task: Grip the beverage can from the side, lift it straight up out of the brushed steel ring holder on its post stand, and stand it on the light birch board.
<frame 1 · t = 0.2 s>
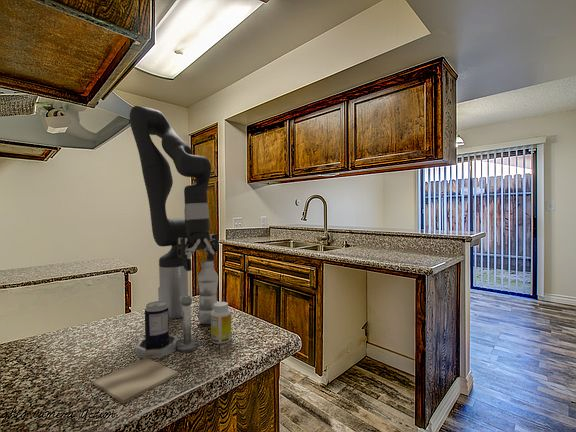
hand: (199, 268, 100), 18 cm above the counter, tool pointing down, fingers open, 8 cm apart
birch board: (136, 379, 67), on the counter
steel ring stand: (157, 349, 81), on the counter
beverage can: (157, 350, 81), resting in steel ring stand
plastic bottle: (208, 323, 99), on the counter
supplement bottle: (221, 341, 86), on the counter
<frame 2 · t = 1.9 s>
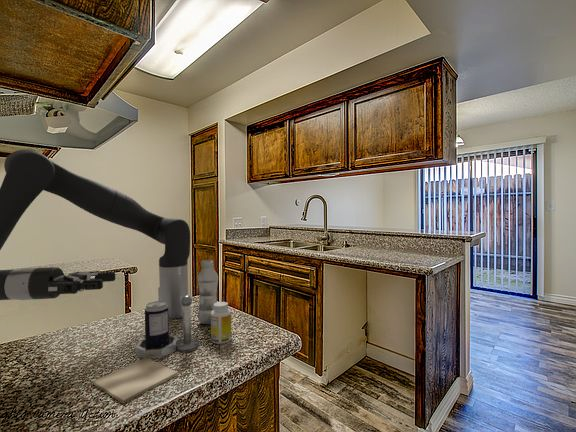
hand: (109, 280, 78), 19 cm above the counter, tool horizontal, fingers open, 8 cm apart
nothing on the counter moved.
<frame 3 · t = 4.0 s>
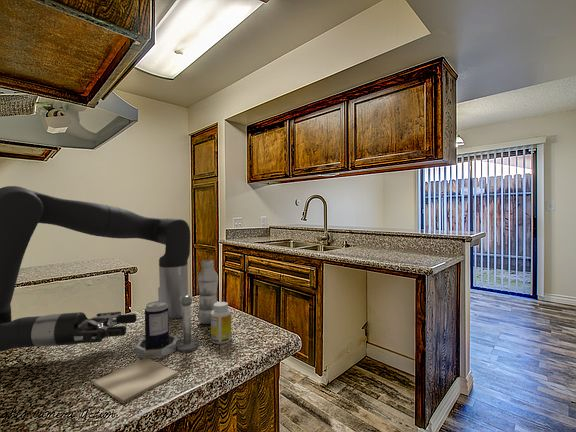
hand: (131, 323, 80), 7 cm above the counter, tool horizontal, fingers open, 8 cm apart
nothing on the counter moved.
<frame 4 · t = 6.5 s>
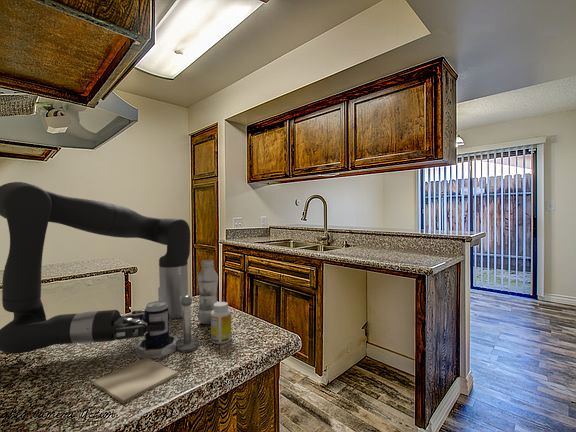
hand: (167, 321, 81), 7 cm above the counter, tool horizontal, fingers closed on beverage can, 5 cm apart
beverage can: (157, 350, 81), resting in steel ring stand, touching gripper
everything else where it was.
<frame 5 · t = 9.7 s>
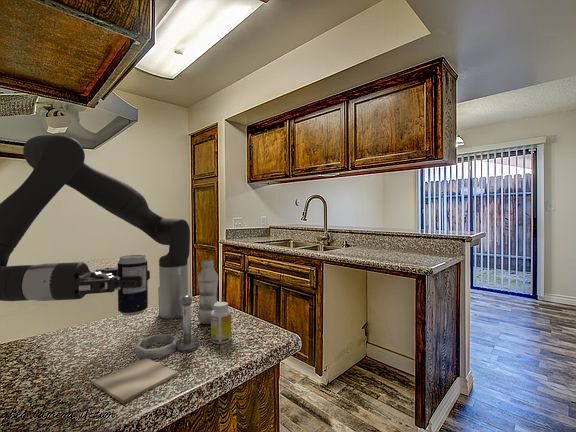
hand: (145, 278, 67), 22 cm above the counter, tool horizontal, fingers closed on beverage can, 5 cm apart
beverage can: (133, 313, 67), point 14 cm above the counter, touching gripper
everything else where it was.
when the fingers open (9 cm above the counter, at t = 13.1 s): beverage can stays where it is, resting on birch board.
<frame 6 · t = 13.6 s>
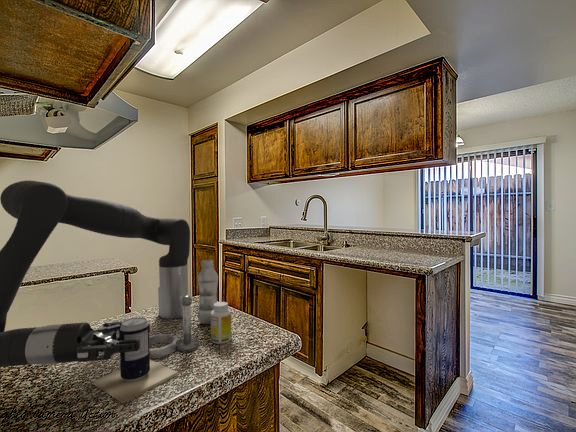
hand: (144, 336, 67), 9 cm above the counter, tool horizontal, fingers open, 8 cm apart
beverage can: (135, 377, 67), resting on birch board
everything else where it was.
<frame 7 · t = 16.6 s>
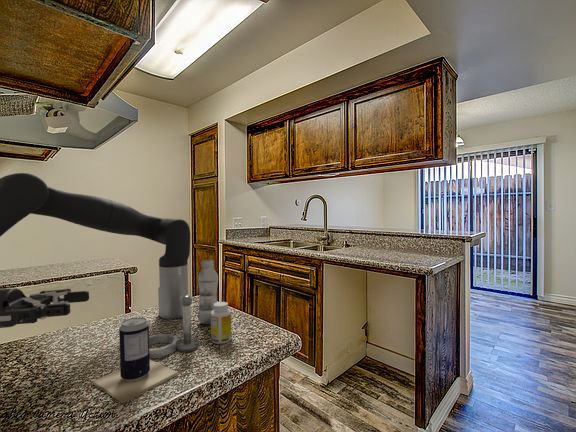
hand: (79, 302, 65), 18 cm above the counter, tool horizontal, fingers open, 8 cm apart
nothing on the counter moved.
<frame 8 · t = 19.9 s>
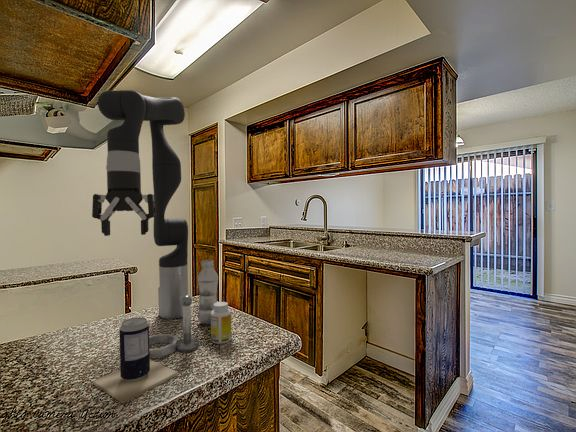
hand: (125, 235, 79), 30 cm above the counter, tool pointing down, fingers open, 8 cm apart
nothing on the counter moved.
at the end: beverage can inside the target area on the birch board (0.1 cm from its centre), point 0.4 cm above the birch board's base; beverage can tilted 0°; the gripper is holding nothing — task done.
